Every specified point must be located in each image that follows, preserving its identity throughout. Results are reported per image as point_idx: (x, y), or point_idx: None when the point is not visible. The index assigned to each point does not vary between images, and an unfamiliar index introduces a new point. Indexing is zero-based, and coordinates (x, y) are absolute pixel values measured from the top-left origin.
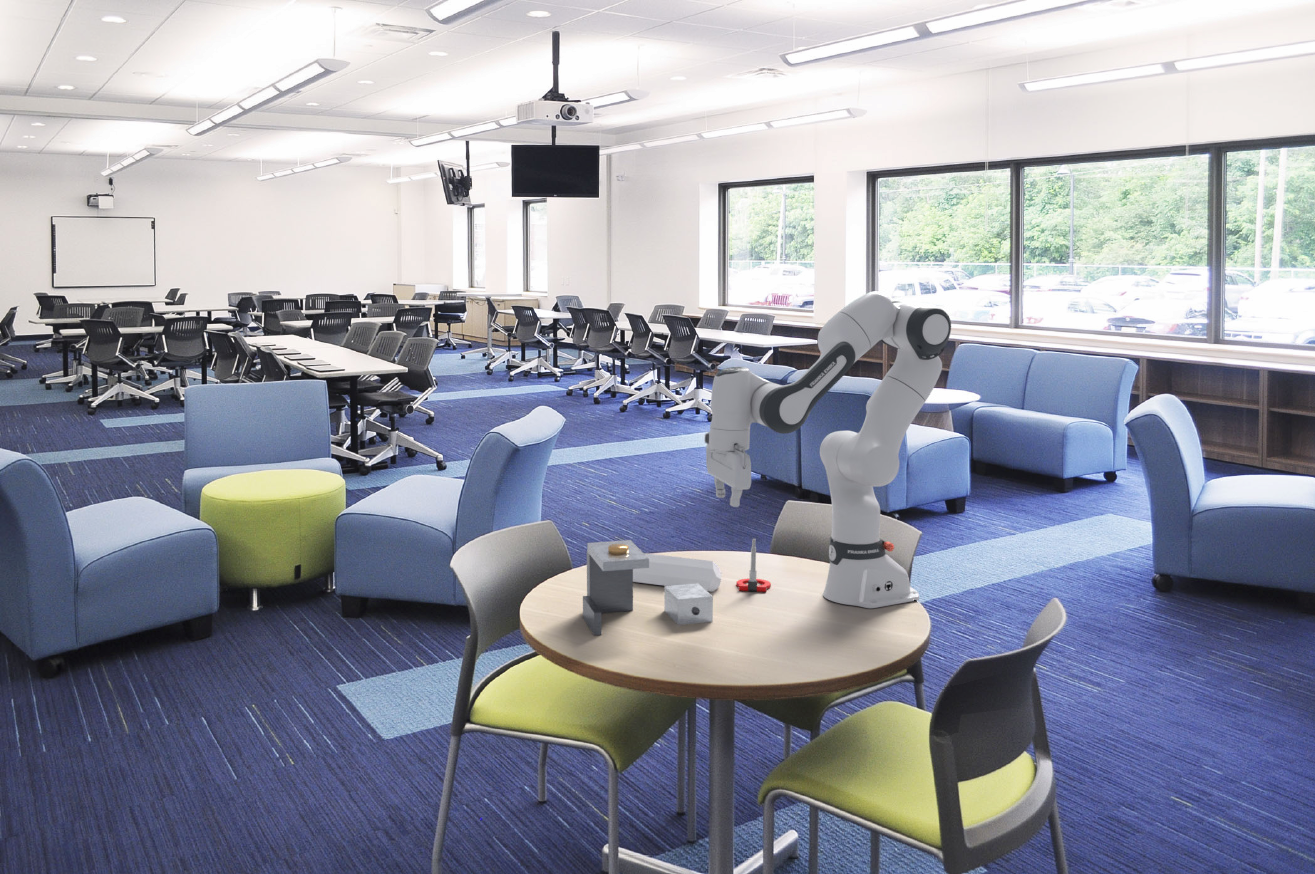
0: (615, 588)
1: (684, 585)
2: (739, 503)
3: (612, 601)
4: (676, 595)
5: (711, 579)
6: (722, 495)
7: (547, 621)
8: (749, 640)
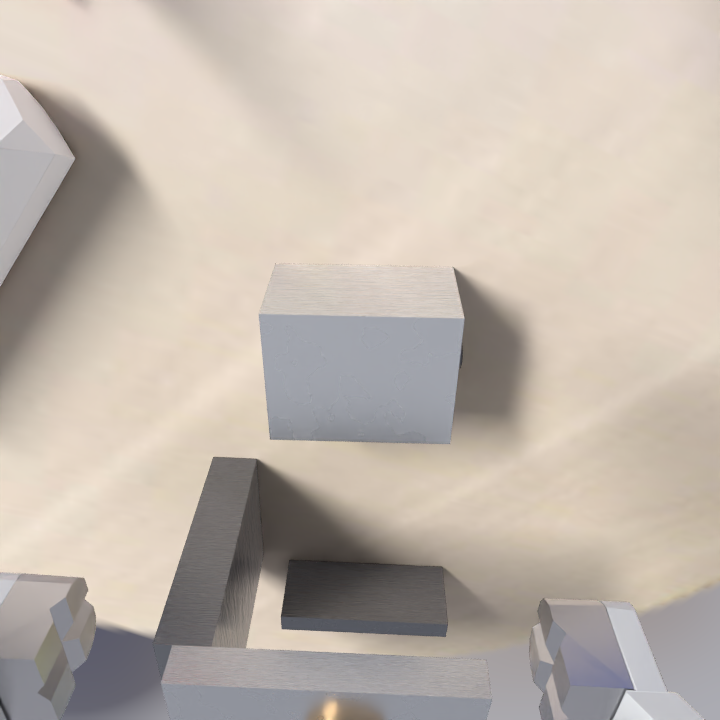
0: (246, 563)
1: (278, 373)
2: (642, 629)
3: (254, 534)
4: (399, 435)
5: (44, 152)
6: (77, 618)
7: (294, 631)
8: (714, 214)
